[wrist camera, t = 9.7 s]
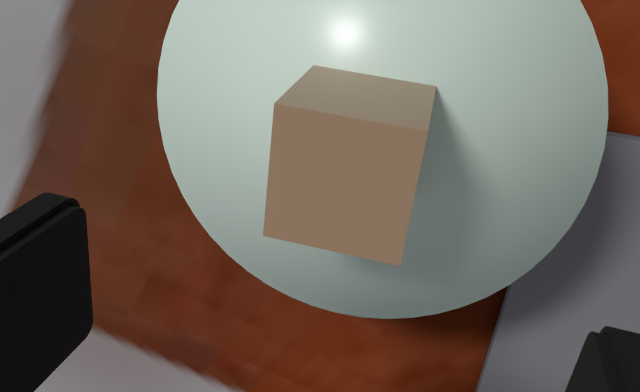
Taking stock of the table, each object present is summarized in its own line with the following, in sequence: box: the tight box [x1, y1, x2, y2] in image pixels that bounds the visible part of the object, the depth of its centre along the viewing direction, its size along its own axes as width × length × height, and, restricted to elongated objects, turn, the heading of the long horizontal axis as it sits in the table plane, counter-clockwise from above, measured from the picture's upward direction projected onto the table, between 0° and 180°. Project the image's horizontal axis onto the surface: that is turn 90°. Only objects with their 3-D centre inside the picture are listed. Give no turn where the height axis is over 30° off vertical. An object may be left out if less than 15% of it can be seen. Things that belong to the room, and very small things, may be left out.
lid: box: [157, 0, 608, 319], centre depth 18 cm, size 15×15×6 cm
